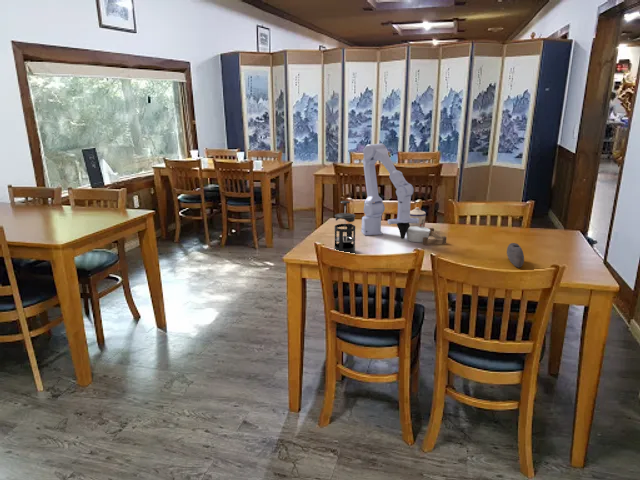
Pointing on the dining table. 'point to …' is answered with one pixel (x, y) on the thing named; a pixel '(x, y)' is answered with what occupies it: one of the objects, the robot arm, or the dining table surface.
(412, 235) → the ramekin
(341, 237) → the french press
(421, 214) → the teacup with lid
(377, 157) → the robot arm
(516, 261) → the perforated stone tool
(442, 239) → the walnut cradle
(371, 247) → the dining table surface
